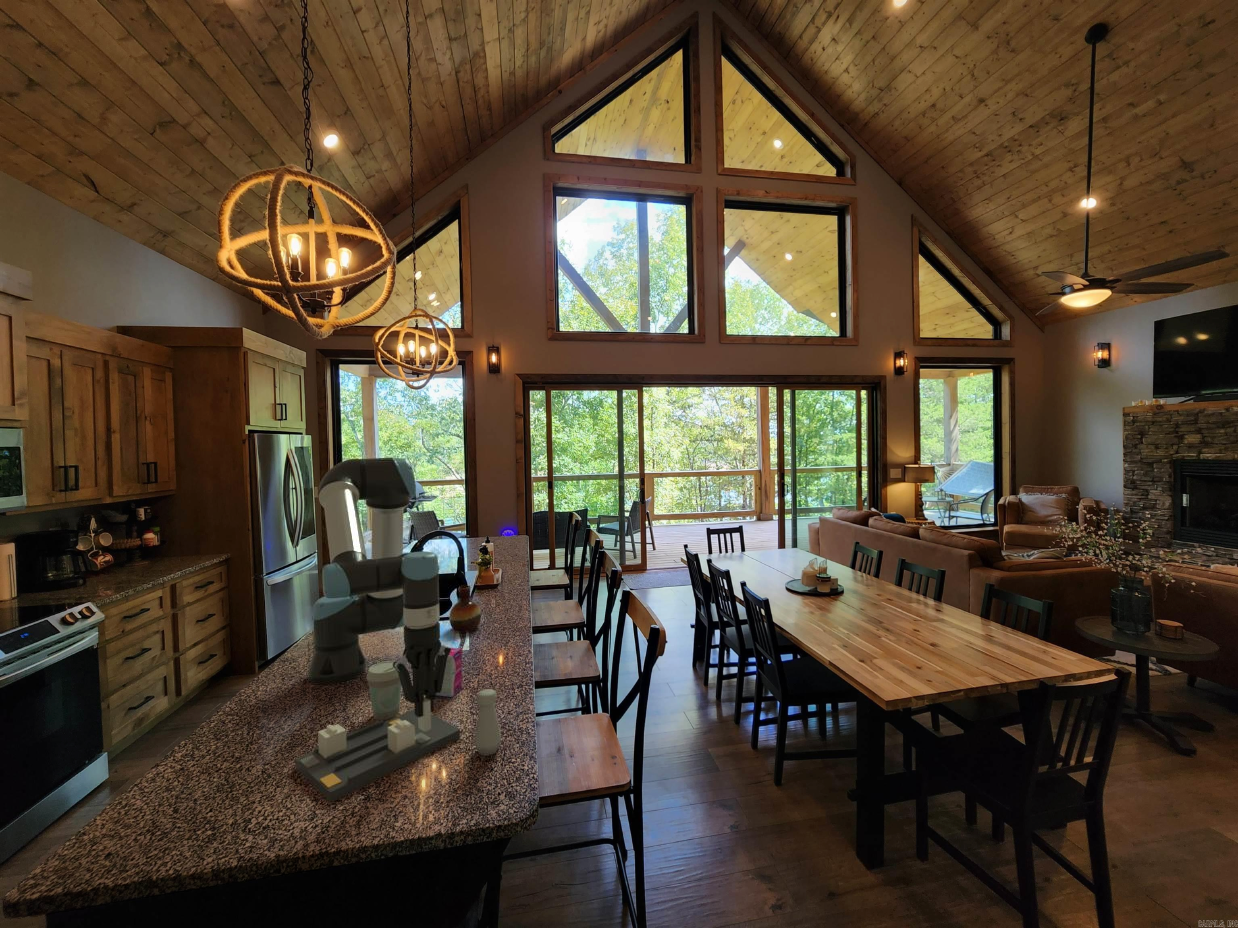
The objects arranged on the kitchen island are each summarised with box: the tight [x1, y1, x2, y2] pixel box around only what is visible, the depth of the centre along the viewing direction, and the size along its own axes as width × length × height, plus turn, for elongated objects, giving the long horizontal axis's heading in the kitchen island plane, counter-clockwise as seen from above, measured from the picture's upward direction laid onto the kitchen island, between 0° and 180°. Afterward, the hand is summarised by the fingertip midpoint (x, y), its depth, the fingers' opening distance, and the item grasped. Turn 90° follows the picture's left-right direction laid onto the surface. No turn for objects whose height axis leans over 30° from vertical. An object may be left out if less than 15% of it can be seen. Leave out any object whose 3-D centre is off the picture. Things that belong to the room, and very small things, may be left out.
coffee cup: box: [365, 660, 402, 721], centre depth 133 cm, size 8×8×12 cm
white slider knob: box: [317, 723, 347, 758], centre depth 113 cm, size 4×4×5 cm
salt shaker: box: [473, 688, 502, 757], centre depth 116 cm, size 6×6×13 cm
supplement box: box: [434, 647, 463, 699], centre depth 144 cm, size 6×6×12 cm
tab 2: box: [388, 720, 415, 753], centre depth 114 cm, size 4×4×5 cm
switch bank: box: [294, 708, 461, 804], centre depth 116 cm, size 17×28×3 cm, turn 140°
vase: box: [448, 585, 482, 633], centre depth 195 cm, size 11×11×15 cm
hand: (424, 728), depth 119 cm, fingers closed
